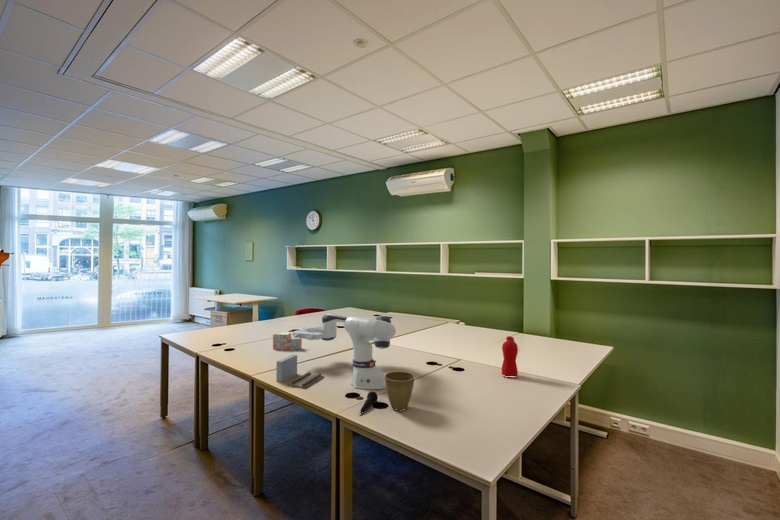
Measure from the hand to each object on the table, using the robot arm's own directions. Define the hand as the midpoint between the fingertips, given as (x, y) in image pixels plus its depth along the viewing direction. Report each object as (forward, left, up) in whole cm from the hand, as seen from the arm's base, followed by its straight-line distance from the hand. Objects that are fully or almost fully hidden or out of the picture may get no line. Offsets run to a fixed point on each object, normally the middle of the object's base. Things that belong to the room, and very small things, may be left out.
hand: (301, 337), depth 239 cm
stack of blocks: (+39, -40, -21) cm, 60 cm away
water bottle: (-130, -37, -21) cm, 137 cm away
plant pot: (-79, +33, -21) cm, 88 cm away
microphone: (-63, +38, -22) cm, 77 cm away
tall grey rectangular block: (-1, +16, -21) cm, 26 cm away
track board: (-16, +18, -21) cm, 32 cm away
